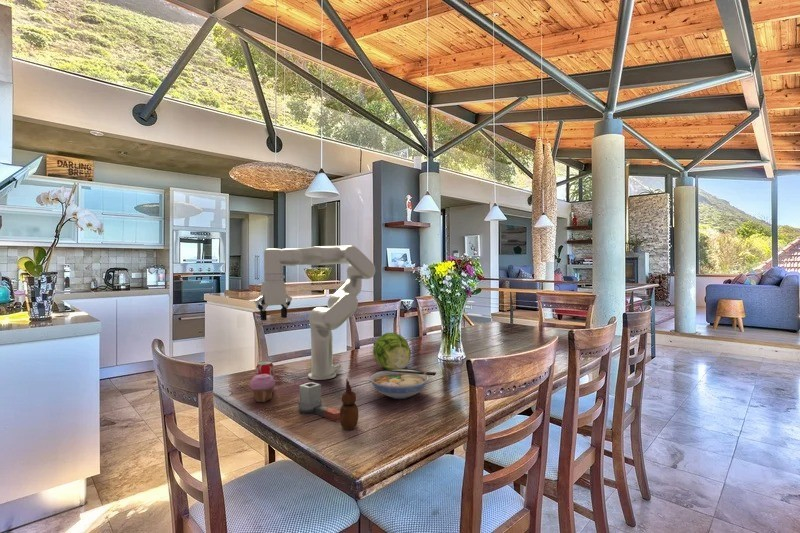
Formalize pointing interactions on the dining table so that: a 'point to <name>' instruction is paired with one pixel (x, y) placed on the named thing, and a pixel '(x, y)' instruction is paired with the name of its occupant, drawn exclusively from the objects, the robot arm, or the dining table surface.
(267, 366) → the soda can
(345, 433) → the dining table surface
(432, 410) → the dining table surface
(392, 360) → the lettuce
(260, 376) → the cupcake
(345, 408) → the wooden figurine
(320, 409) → the ratchet
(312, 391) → the socket
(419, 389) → the ramen bowl
